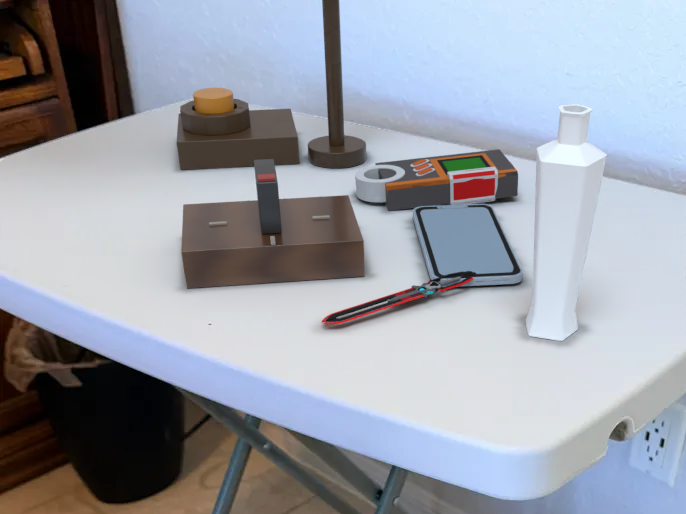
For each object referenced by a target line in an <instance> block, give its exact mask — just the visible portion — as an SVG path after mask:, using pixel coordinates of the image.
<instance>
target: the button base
mask: <svg viewBox="0 0 686 514" xmlns="http://www.w3.org/2000/svg"><path fill="white" fill-rule="evenodd" d="M233 99H234V108H235V109H234V110H232V111H229V112H224V113H212V114H207V113H199V112H196V111H195V106H194V100H191V101H190V100H189V101H188V102H186V103H184V104H182V105H180V108H179V111H180V112H179V113H178V114H177V115H178V117H177V129H176V130H177V131H176V148H177V155H178V161H179V162H178V163H179V168H180V170H181V171H185V170H186V171H187V170H205V169H207V170H208V169H226V168H244V167H254V160H262V159H273V160H274V164H275V166H282V165H283V166H285V165H300V163H301V162H300V150H299V136H298V133H297V129H296V124H295V120H294V117H293V112H292V109H291V108H274V109H273V108H272V109H270V108H269V109H251V110H250V107H249V102H246V101H245V100H241V99H239V98H233Z"/></svg>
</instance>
